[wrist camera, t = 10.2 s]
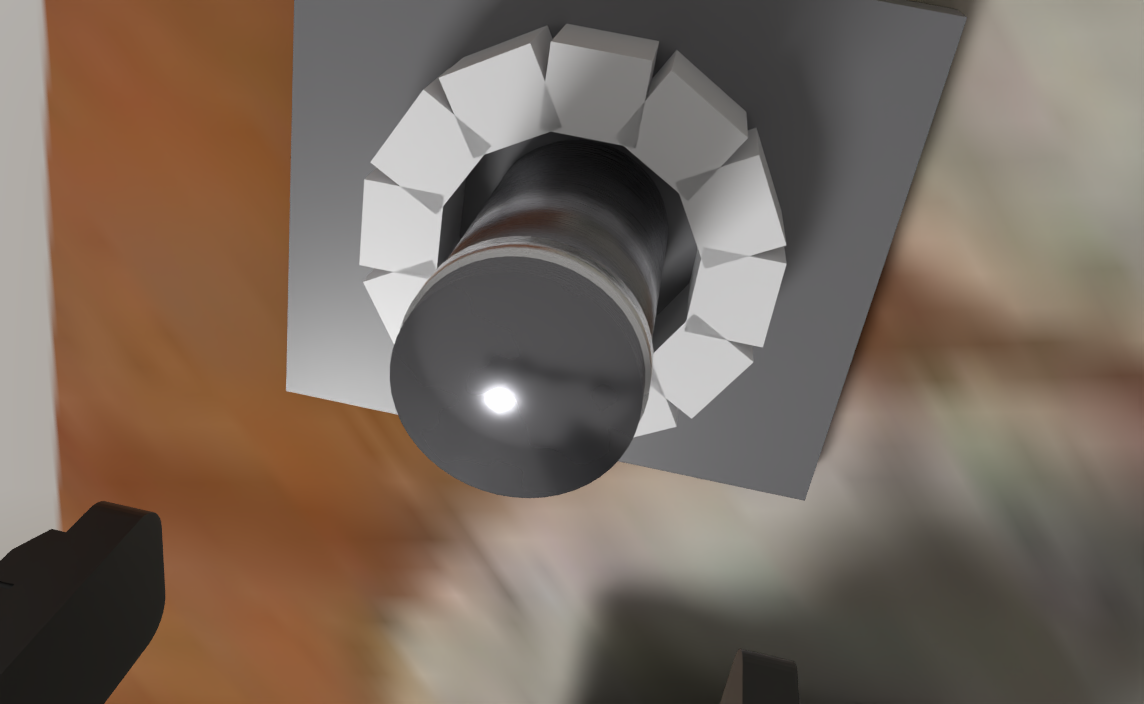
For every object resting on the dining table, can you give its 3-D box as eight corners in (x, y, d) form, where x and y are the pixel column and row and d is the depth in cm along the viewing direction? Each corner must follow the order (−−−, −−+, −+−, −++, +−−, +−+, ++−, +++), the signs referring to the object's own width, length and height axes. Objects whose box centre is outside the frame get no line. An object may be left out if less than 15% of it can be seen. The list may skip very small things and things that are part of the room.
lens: (690, 156, 25) (673, 300, 17) (651, 329, 27) (620, 525, 20) (499, 118, 25) (395, 241, 17) (476, 292, 28) (375, 471, 20)
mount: (956, 9, 24) (991, 35, 21) (802, 477, 30) (810, 551, 27) (315, -110, 25) (254, -102, 21) (301, 372, 31) (253, 432, 28)
